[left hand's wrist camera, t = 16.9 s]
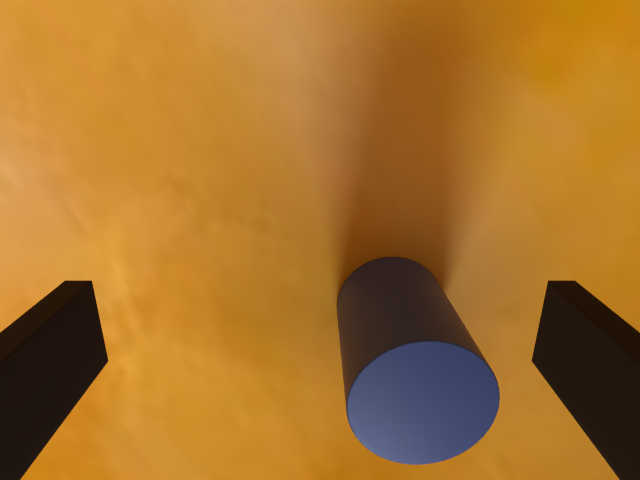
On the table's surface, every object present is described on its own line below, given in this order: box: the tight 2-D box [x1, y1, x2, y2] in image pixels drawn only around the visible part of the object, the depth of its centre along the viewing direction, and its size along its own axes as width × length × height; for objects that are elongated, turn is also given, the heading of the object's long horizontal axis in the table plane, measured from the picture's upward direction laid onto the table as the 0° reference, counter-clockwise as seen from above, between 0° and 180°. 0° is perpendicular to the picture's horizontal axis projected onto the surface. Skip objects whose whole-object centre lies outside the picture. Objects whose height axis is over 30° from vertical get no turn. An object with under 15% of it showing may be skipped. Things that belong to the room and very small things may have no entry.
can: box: [337, 257, 500, 465], centre depth 27 cm, size 8×8×11 cm
